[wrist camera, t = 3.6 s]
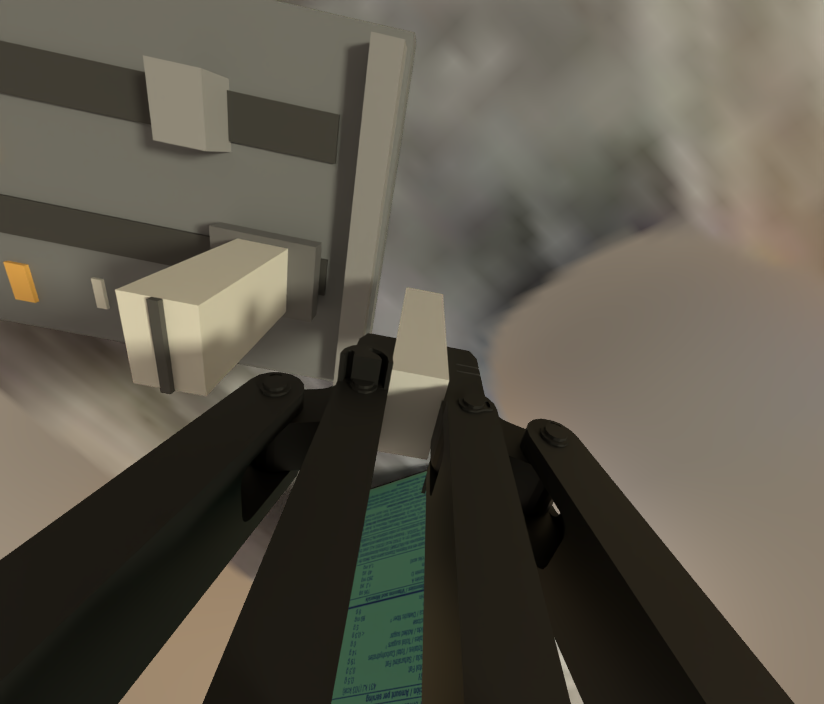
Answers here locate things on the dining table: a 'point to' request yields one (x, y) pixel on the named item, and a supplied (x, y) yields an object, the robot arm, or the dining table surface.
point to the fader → (216, 306)
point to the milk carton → (386, 601)
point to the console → (195, 155)
